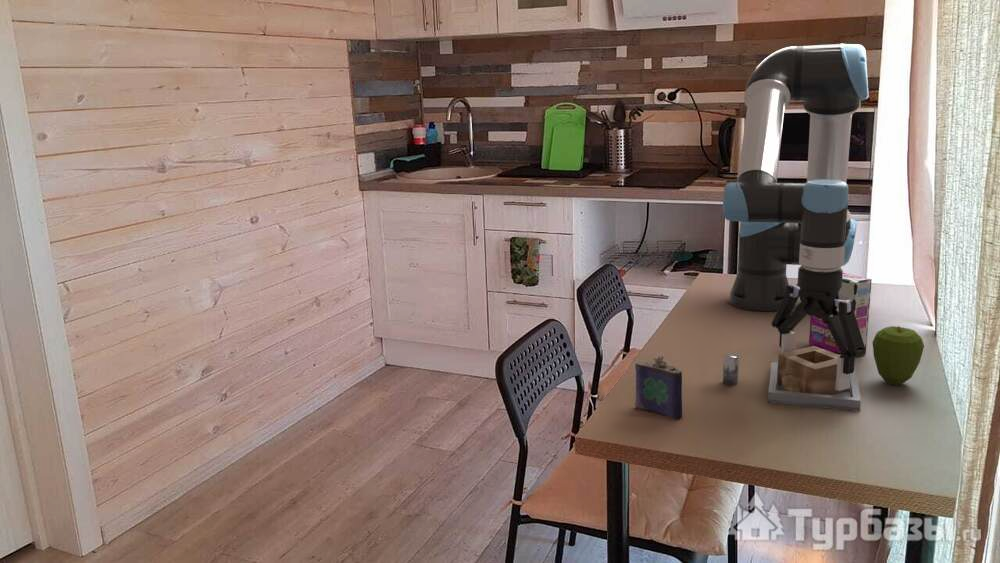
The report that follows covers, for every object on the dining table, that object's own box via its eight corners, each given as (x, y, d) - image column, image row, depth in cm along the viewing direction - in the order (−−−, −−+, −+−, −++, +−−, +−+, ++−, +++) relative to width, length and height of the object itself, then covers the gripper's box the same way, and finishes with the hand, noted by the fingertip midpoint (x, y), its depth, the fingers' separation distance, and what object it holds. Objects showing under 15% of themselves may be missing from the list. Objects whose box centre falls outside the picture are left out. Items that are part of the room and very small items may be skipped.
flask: (632, 408, 145) (632, 353, 143) (641, 403, 147) (641, 349, 145) (677, 422, 139) (678, 364, 136) (686, 416, 141) (687, 359, 139)
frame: (768, 385, 151) (770, 356, 149) (812, 374, 155) (814, 345, 154) (804, 402, 143) (806, 371, 141) (849, 390, 147) (851, 360, 146)
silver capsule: (723, 379, 157) (724, 352, 155) (738, 380, 156) (739, 354, 154) (722, 384, 154) (722, 357, 153) (737, 386, 153) (738, 359, 152)
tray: (771, 371, 159) (771, 362, 159) (855, 378, 154) (855, 369, 153) (768, 402, 145) (768, 392, 145) (860, 411, 140) (860, 400, 140)
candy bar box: (867, 354, 166) (873, 278, 162) (850, 359, 164) (856, 282, 159) (823, 339, 176) (828, 267, 171) (807, 344, 173) (811, 271, 169)
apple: (877, 392, 148) (882, 333, 145) (863, 374, 156) (868, 318, 153) (927, 392, 146) (933, 333, 143) (910, 375, 154) (916, 318, 151)
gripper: (755, 256, 153) (751, 359, 158) (862, 285, 131) (852, 404, 136) (785, 251, 156) (780, 352, 161) (894, 278, 134) (884, 395, 139)
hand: (813, 376), depth 149 cm, fingers open, 13 cm apart
